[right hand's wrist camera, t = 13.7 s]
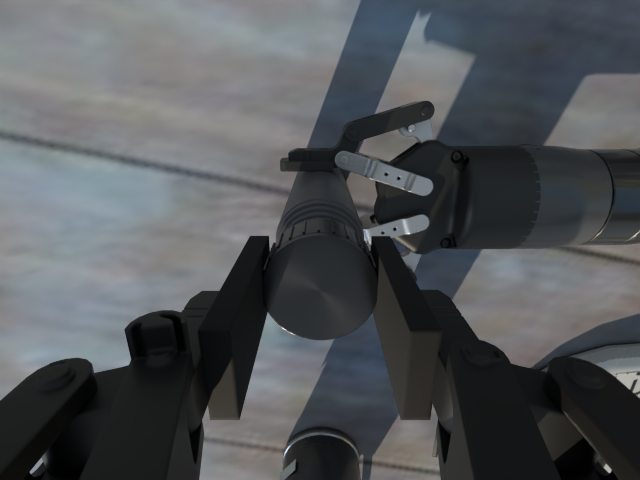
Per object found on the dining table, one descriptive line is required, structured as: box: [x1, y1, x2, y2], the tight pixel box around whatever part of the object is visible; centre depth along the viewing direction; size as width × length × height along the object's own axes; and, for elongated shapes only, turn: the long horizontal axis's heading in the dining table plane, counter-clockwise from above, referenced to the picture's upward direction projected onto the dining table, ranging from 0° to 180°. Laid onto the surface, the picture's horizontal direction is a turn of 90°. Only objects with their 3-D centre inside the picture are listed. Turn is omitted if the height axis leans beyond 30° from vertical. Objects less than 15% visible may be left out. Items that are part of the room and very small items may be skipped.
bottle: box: [276, 168, 364, 241], centre depth 22 cm, size 4×4×20 cm
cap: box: [262, 218, 378, 340], centre depth 14 cm, size 4×4×2 cm
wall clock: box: [541, 343, 640, 473], centre depth 42 cm, size 30×2×30 cm
